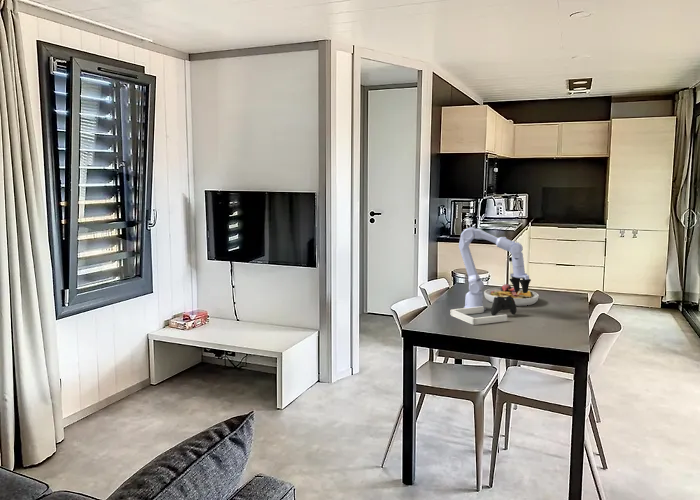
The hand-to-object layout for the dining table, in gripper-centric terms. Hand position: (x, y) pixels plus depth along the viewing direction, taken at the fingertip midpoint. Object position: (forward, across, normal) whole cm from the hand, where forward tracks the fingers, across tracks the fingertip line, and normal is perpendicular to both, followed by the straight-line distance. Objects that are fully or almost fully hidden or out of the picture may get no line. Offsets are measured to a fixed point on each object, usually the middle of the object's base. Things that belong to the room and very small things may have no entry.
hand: (521, 292), depth 287 cm
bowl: (+11, +29, -10) cm, 33 cm away
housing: (+9, -1, +27) cm, 28 cm away
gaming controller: (+11, +1, +11) cm, 15 cm away
